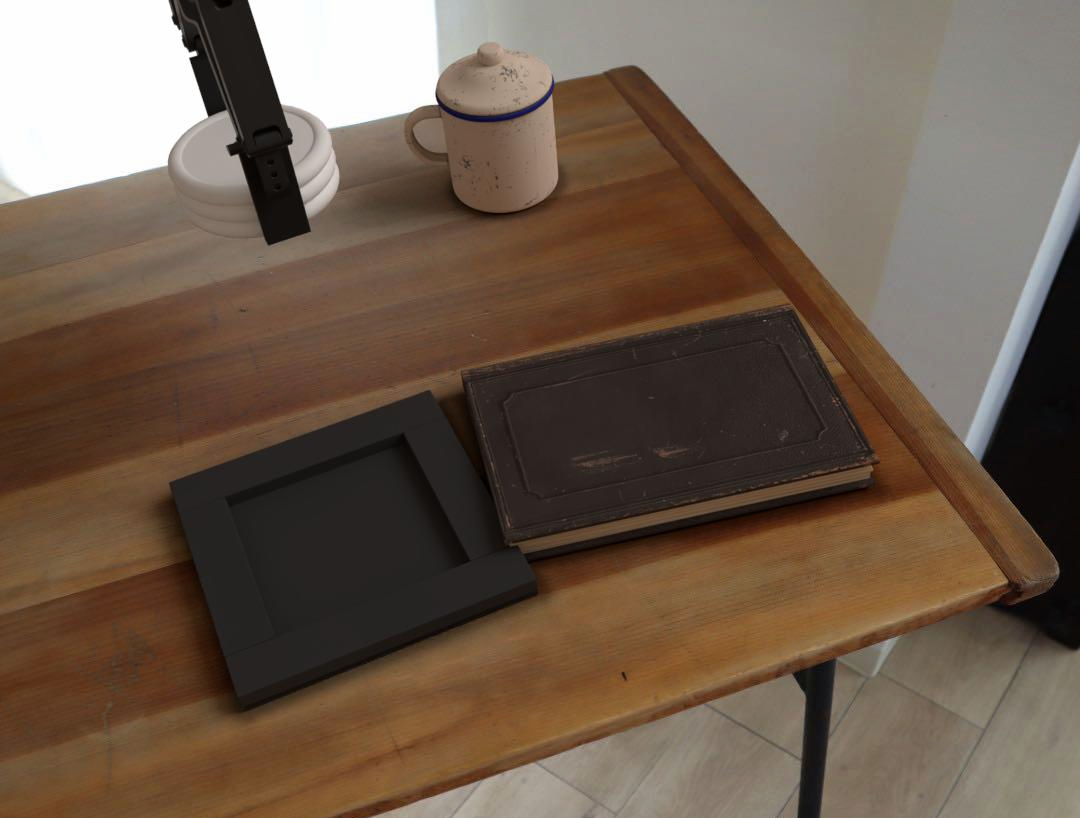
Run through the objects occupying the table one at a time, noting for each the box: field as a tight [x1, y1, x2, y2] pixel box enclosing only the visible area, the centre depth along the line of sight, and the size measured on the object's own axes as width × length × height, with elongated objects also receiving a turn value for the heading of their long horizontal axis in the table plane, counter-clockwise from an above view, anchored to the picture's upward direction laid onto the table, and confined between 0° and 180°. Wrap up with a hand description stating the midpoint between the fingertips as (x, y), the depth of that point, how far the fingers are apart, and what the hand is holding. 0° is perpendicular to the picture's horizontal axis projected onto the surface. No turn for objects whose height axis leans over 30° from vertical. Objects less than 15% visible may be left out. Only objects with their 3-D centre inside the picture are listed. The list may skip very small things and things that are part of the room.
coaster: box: [167, 103, 340, 240], centre depth 72 cm, size 10×10×4 cm
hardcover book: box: [460, 303, 881, 562], centre depth 76 cm, size 16×23×2 cm
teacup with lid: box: [403, 41, 559, 214], centre depth 92 cm, size 12×9×12 cm
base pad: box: [168, 389, 540, 712], centre depth 72 cm, size 18×18×2 cm
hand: (263, 190), depth 74 cm, fingers closed on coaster, 10 cm apart
